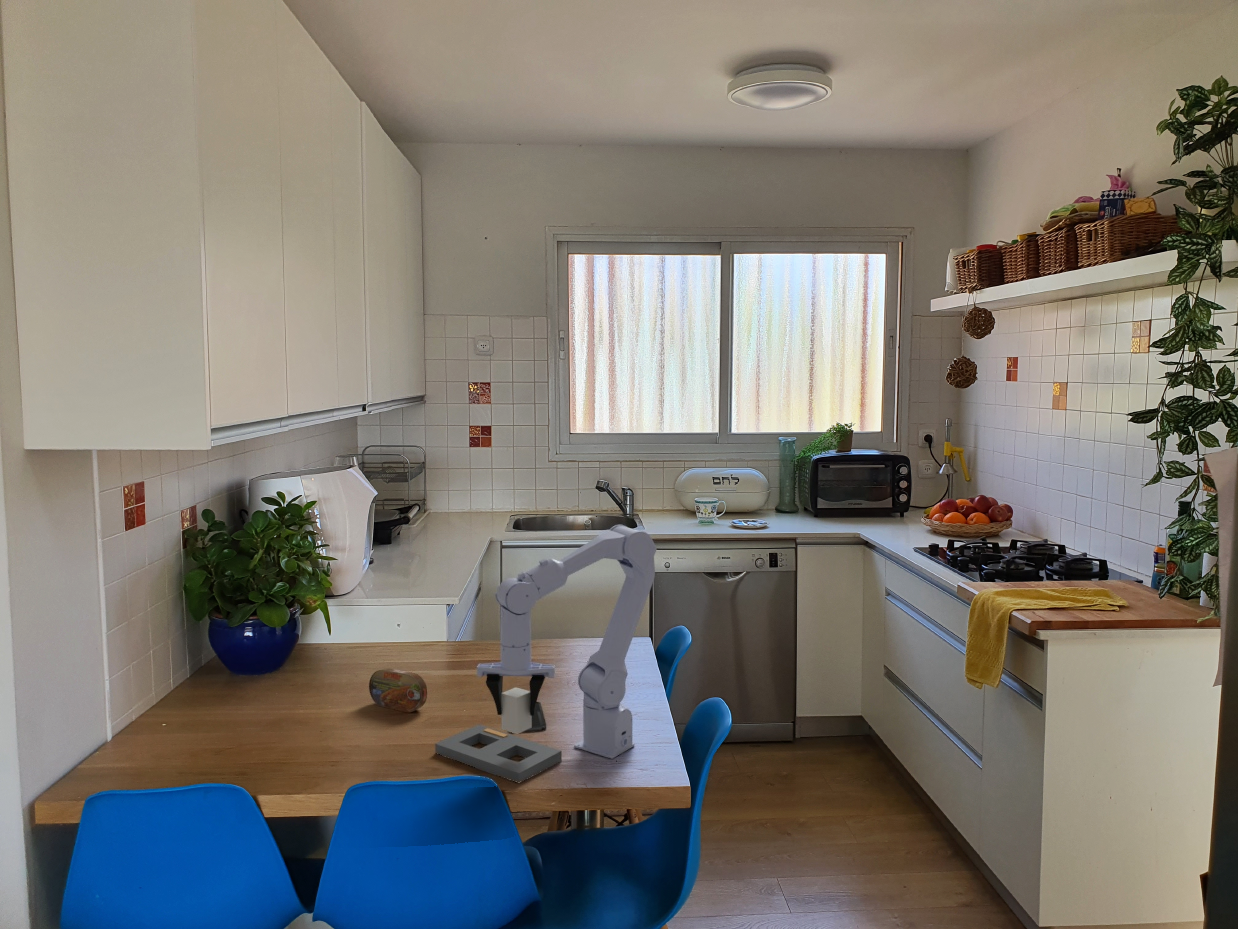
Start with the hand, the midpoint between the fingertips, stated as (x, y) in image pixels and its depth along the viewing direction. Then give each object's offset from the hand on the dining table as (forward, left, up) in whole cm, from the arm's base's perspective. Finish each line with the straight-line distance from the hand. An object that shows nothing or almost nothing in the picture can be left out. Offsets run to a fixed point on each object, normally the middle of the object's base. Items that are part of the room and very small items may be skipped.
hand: (516, 713), depth 167 cm
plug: (0, 0, -3) cm, 3 cm away
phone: (+14, -18, -10) cm, 25 cm away
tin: (+41, -6, -10) cm, 43 cm away
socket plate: (+5, 0, -10) cm, 11 cm away
